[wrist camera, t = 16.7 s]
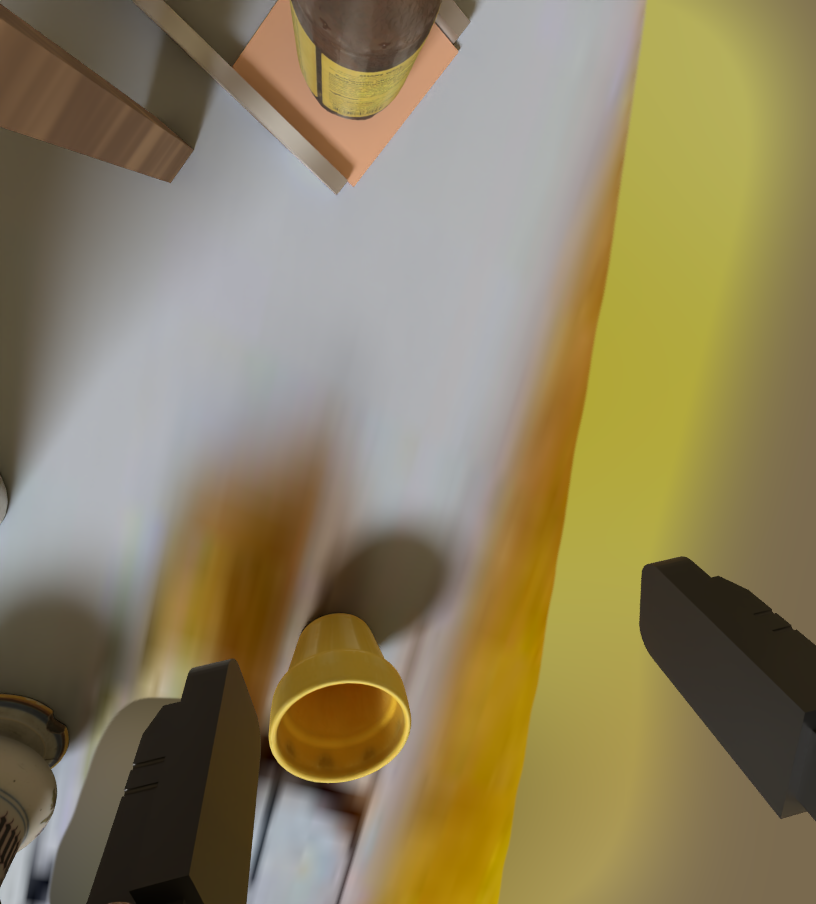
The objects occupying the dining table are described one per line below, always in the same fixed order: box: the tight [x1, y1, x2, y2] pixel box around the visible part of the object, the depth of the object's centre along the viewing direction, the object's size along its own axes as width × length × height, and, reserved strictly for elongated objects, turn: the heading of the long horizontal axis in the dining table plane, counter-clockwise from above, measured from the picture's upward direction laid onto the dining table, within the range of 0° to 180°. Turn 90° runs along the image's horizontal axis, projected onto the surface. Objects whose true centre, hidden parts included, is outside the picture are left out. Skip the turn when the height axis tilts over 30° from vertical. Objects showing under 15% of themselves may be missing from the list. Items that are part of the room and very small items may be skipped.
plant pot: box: [269, 613, 411, 783], centre depth 43 cm, size 10×10×10 cm
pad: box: [232, 0, 458, 187], centre depth 31 cm, size 9×10×1 cm
